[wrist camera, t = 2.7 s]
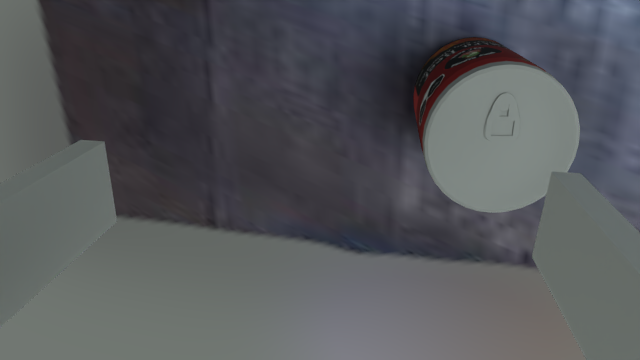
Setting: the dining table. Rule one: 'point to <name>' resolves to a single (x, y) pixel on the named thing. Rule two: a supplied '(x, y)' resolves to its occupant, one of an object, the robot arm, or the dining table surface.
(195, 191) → the dining table surface
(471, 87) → the canned food
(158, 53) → the dining table surface
